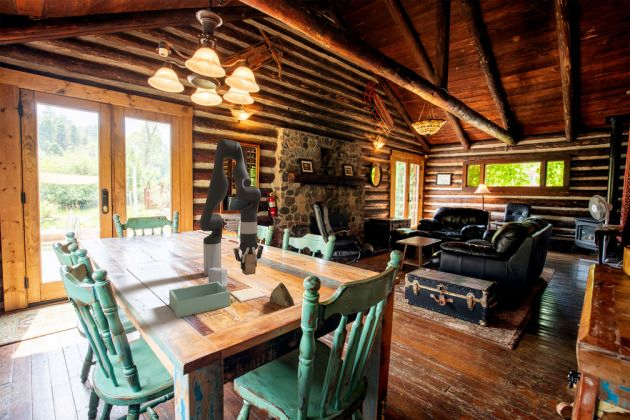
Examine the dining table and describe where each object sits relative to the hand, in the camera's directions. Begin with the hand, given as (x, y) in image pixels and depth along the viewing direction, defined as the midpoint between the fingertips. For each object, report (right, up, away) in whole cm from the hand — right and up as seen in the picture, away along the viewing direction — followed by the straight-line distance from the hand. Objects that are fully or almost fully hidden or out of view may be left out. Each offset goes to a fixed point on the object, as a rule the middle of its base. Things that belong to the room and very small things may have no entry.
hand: (248, 269), depth 128 cm
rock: (+16, -13, -7) cm, 22 cm away
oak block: (0, -2, 0) cm, 2 cm away
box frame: (-18, -12, -11) cm, 24 cm away
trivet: (0, -12, +1) cm, 12 cm away
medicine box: (-17, -11, +11) cm, 23 cm away
